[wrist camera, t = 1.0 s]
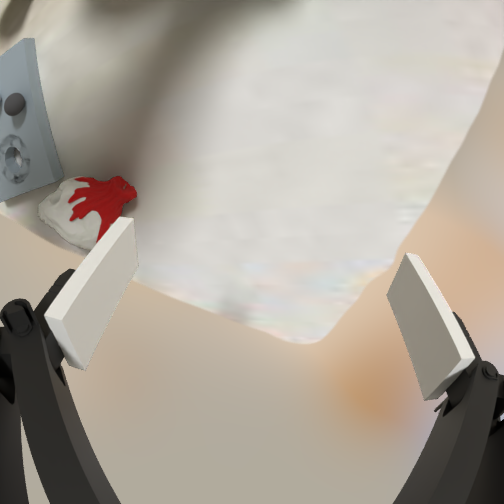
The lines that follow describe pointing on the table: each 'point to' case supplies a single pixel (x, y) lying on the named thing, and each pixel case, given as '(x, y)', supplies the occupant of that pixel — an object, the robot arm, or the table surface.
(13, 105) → the black ball
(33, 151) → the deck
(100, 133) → the table surface
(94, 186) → the candle
